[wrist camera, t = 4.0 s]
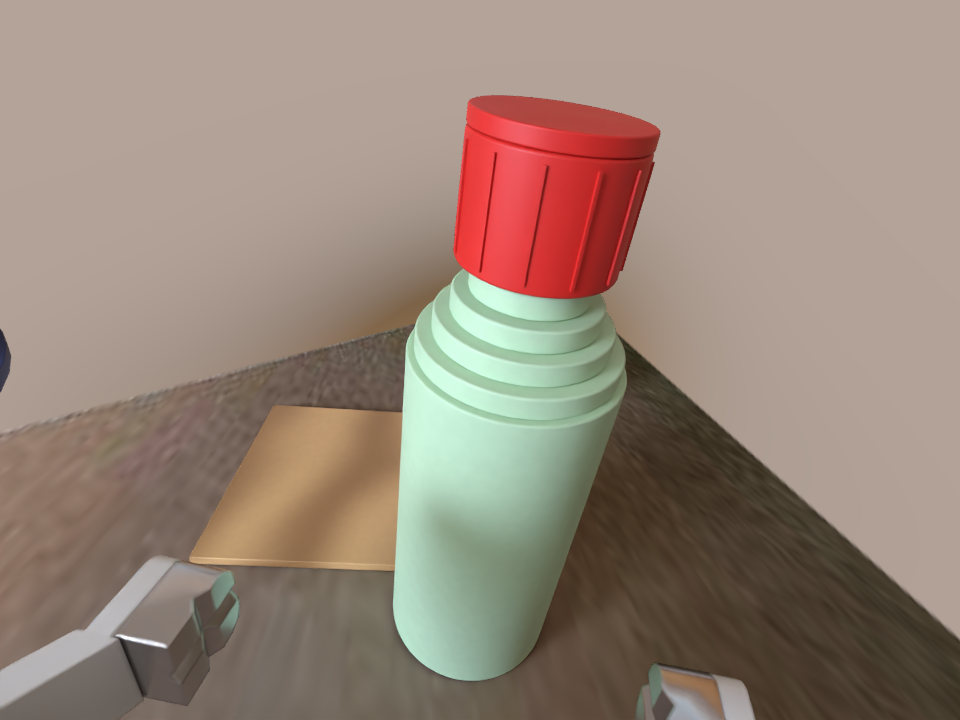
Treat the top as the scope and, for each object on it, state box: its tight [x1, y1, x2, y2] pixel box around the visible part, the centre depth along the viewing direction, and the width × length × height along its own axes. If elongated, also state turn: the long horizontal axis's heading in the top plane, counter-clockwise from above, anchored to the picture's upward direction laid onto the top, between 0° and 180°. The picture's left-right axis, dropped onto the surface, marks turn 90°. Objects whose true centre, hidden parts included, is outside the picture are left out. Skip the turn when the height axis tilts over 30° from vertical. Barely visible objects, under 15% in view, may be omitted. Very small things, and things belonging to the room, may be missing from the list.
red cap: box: [454, 95, 660, 299], centre depth 12 cm, size 4×4×3 cm
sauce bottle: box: [393, 269, 627, 681], centre depth 16 cm, size 6×6×18 cm
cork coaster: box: [189, 405, 403, 571], centre depth 26 cm, size 11×11×1 cm
